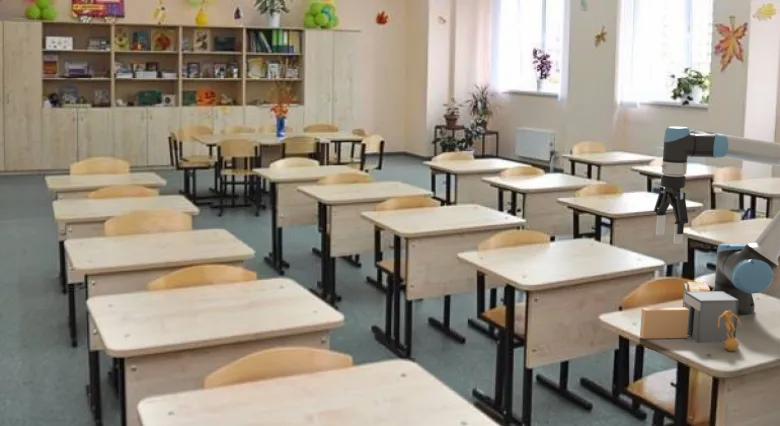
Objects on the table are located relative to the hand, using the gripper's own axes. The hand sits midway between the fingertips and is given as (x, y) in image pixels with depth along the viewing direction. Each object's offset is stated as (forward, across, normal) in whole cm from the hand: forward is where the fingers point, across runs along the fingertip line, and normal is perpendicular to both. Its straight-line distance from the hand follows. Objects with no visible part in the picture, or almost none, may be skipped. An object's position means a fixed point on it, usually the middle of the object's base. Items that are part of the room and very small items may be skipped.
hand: (668, 239), depth 277 cm
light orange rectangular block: (+26, +20, -9) cm, 34 cm away
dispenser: (+27, +20, +6) cm, 34 cm away
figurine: (+27, +32, +6) cm, 42 cm away
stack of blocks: (+27, +2, +10) cm, 29 cm away
